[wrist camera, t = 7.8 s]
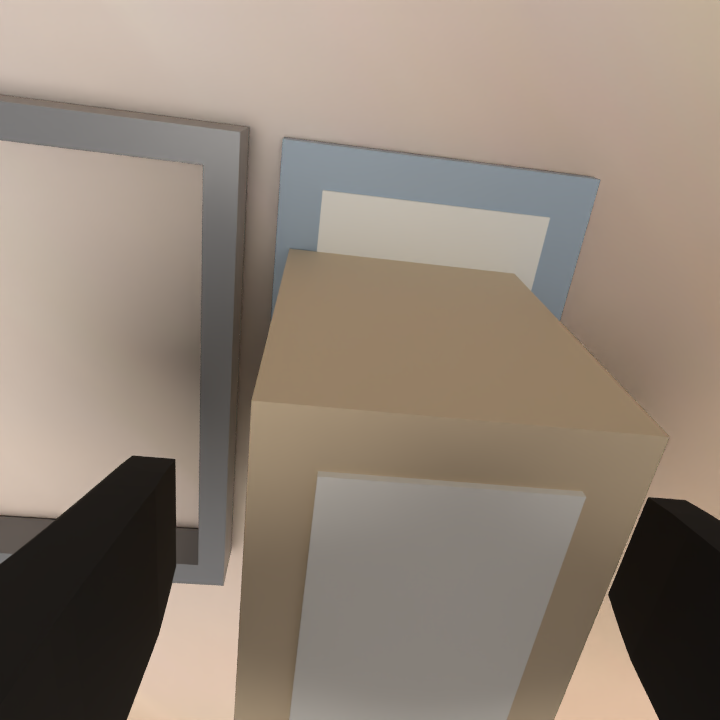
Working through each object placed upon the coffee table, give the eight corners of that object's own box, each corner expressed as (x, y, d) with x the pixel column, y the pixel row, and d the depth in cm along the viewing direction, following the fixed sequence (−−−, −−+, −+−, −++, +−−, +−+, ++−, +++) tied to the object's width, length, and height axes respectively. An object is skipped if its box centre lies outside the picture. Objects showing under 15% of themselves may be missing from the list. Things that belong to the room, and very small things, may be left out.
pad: (591, 177, 12) (602, 180, 11) (483, 562, 16) (487, 575, 15) (284, 136, 11) (282, 139, 11) (256, 548, 15) (254, 561, 15)
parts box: (514, 273, 12) (673, 442, 6) (456, 510, 14) (534, 778, 9) (289, 248, 11) (250, 405, 6) (270, 497, 14) (230, 770, 8)
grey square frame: (249, 126, 11) (240, 132, 10) (231, 549, 15) (223, 585, 14) (-265, 60, 10) (-338, 57, 9) (-131, 526, 14) (-169, 563, 13)
